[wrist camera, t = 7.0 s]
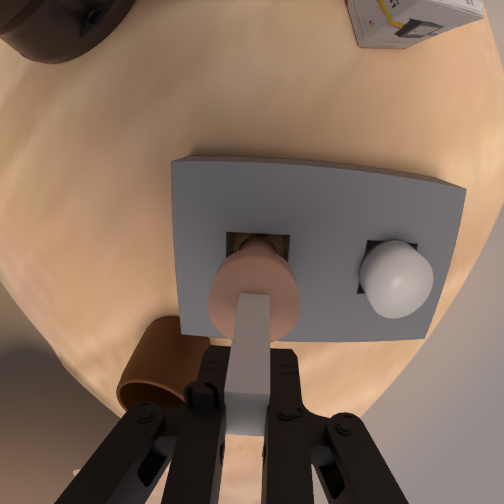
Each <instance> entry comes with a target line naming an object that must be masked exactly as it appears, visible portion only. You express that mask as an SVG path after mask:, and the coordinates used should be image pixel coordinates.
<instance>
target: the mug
mask: <svg viewBox="0 0 504 504" xmlns="http://www.w3.org/2000/svg"><path fill="white" fill-rule="evenodd" d="M209 346H210V344H209V341H208V339H207V337H206V336H195V335H185V334H182V333H181V324H180V319H178V318H163V319H160V320H157V321H155V322H153V323H152V324H151V325H150V326H149V327H148V328H147V329H146V331H145V333H144V334H143V336H142V338H141V340H140V342H139V343H138V345H137V347H136V349H135V350H134V352H133V354H132V356H131V358H130V360H129V362H128V364H127V366H126V367H125V369H124V371H123V374H122V376H121V379H120V382H119V384H118V387H117V390H116V394H117V399H118V401H119V403H120V405H121V406H122V408H123V409H124V410H125V411H126V412H127V410H128V409H129V408H130V407H131V406H132V405H133V404H135V403H137V402H140V401H151V402H155V403H156V404H158V405H159V406H160V407H161V408H171V407H177V406H180V405H183V404H185V399H184V394H183V390H184V388H185V386H186V385H187V384H189V383H190V382H192V381H195V380H196V379H197V376H198V372H199V369H200V364H201V360H202V357H203V353H204V351H205V350H206V349H207V348H208V347H209Z"/></svg>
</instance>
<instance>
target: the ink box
mask: <svg viewBox="0 0 504 504" xmlns="http://www.w3.org/2000/svg"><path fill="white" fill-rule="evenodd" d="M345 1H346V4H347V7H348V10H349V14H350V17H351V20H352V24H353V27H354V31H355V34H356V38H357V42H358V45H359V46H360V47H367V48H395V49H406V48H408V47H410V46H412V45H414V44H417V43H419V42H421V41H424V40H426V39H428V38H431V37H433V36H435V35H438V34H441V33H443V32H446V31H448V30H451V29H453V28H456V27H459V26H462V25H464V24H467V23H470V22H473V21H477V20H479V19H482V18H484V15H483V11H482V10H483V4H482V1H481V0H345Z"/></svg>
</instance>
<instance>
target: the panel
mask: <svg viewBox="0 0 504 504" xmlns="http://www.w3.org/2000/svg"><path fill="white" fill-rule="evenodd" d="M171 190H172V219H173V239H174V256H175V270H176V282H177V294H178V304H179V314H180V324H181V333H182V334H185V335H195V336H206V337H218V338H227V337H225V336H224V335H223V334H221V333H220V332H219V331H218V330H217V329H216V328H215V326H214V325H213V323H212V322H211V320H210V318H209V315H208V311H207V299H208V295H209V292H210V289H211V286H212V283H213V280H214V277H215V274H216V272H217V269H218V267H219V266H220V264H221V263H222V262H223V261H224V260H225V259H226V258H227V257H228V256H230V255H231V254H233V232H242V233H262V234H280V235H284V246H283V258H284V259H285V260H286V261H287V262H288V263H289V265H290V266H291V268H292V269H293V271H294V274H295V277H296V282H297V287H298V293H299V298H300V306H301V307H300V315H299V318H298V320H297V322H296V324H295V326H294V327H293V328H292V330H291V331H290V332H289V333H288V334H286V335H285V336H284V337H282V338H280V339H279V340H276V341H290V342H370V341H395V340H412V339H425V336H426V334H427V331H428V329H429V326H430V323H431V321H432V318H433V315H434V313H435V310H436V307H437V304H438V301H439V298H440V295H441V292H442V289H443V286H444V283H445V280H446V277H447V273H448V270H449V266H450V263H451V259H452V255H453V252H454V248H455V244H456V240H457V235H458V231H459V226H460V222H461V217H462V212H463V207H464V201H465V195H466V189H465V188H462V187H460V186H457V185H454V184H452V183H449V182H446V181H444V180H441V179H438V178H434V177H429V176H424V175H418V174H413V173H407V172H401V171H394V170H388V169H381V168H374V167H367V166H359V165H351V164H342V163H333V162H323V161H312V160H300V159H286V158H270V157H248V156H186V157H183V158H180V159H177V160H174V161H171ZM367 240H376V241H392V240H398V241H403V242H406V243H408V244H409V245H410V246H412V247H413V248H414V249H415V250H416V251H417V252H418V253H419V254H420V255H421V256H423V257H424V258H425V259H426V260H427V261H428V262H429V264H430V266H431V268H432V271H433V285H432V289H431V292H430V294H429V296H428V298H427V299H426V301H425V302H424V303H423V304H422V305H421V306H420V307H419V308H418V309H417V310H416V311H414V312H413V313H411V314H409V315H407V316H404V317H401V318H386V317H383V316H381V315H379V314H378V313H377V312H376V311H375V310H374V309H373V307H372V305H371V303H370V302H369V300H368V298H367V296H366V294H365V292H364V291H363V289H362V287H361V283H360V270H361V266H362V264H363V261H364V256H365V250H366V245H367Z"/></svg>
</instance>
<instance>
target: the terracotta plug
mask: <svg viewBox="0 0 504 504" xmlns="http://www.w3.org/2000/svg"><path fill="white" fill-rule="evenodd" d="M240 293H244V294H262V295H270V343H271V342H274V341H276V340H279V339H280V338H282V337H284V336H285V335H286V334H288V333H289V332H290V331H291V330H292V328H293V327H294V326H295V324H296V322H297V320H298V318H299V315H300V307H301V306H300V298H299V293H298V287H297V282H296V277H295V274H294V271H293V269H292V268H291V266H290V265H289V263H288V262H287V261H286V260H285V259H284V258H282V257H281V256H280V255H278V254H277V249H276V247H275V245H274V243H273V242H272V241H271V240H269V239H268V238H266V237H263V236H252V237H249V238H247V239H245V240H244V241H243V242H242V243H241V244H240V246H239V248H238V251H237V252H235V253H233V254H231V255H230V256H228V257H227V258H226V259H225V260H224V261H223V262H222V263H221V264H220V266H219V267H218V269H217V272H216V274H215V277H214V280H213V283H212V286H211V289H210V292H209V295H208V299H207V311H208V315H209V318H210V320H211V322H212V323H213V325H214V326H215V328H216V329H217V330H218V331H219V332H220V333H221V334H223V335H224V336H225V337H227V338H229V339H231V340H232V339H233V332H234V326H235V320H236V314H237V308H238V301H239V295H240Z"/></svg>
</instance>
